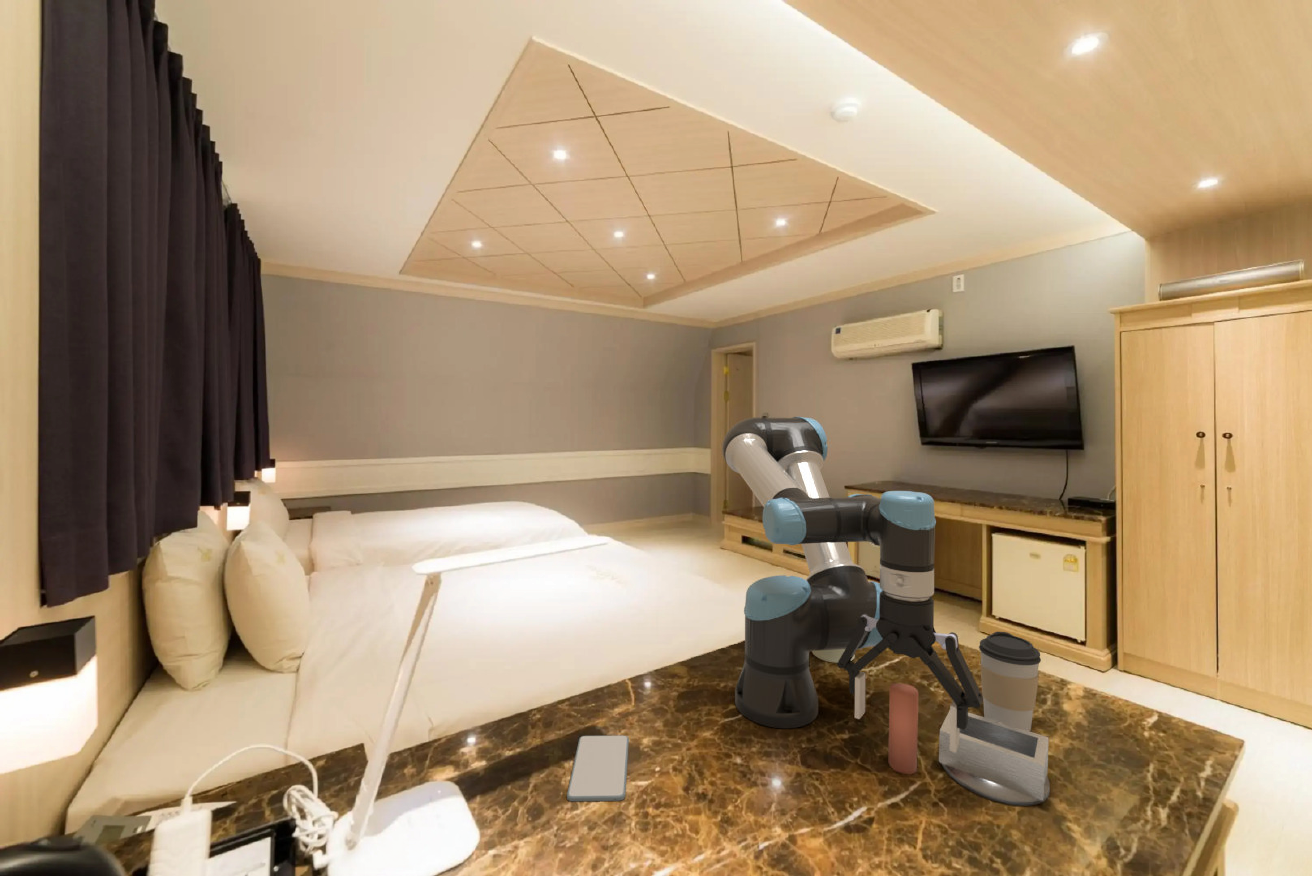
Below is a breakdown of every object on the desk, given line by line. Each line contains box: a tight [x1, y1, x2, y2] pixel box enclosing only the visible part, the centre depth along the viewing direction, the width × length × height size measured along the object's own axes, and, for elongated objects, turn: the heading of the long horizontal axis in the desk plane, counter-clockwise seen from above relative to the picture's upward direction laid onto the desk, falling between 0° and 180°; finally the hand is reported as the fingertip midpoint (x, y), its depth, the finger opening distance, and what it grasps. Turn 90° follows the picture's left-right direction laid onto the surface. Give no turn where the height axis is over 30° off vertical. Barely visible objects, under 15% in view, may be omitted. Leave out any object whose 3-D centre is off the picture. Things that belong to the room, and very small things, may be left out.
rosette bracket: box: [938, 710, 1051, 807], centre depth 81 cm, size 14×14×6 cm
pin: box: [887, 682, 919, 775], centre depth 82 cm, size 4×4×12 cm
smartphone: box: [566, 734, 630, 802], centre depth 83 cm, size 8×1×15 cm
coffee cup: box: [978, 631, 1042, 732], centre depth 94 cm, size 9×9×15 cm
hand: (904, 730), depth 82 cm, fingers open, 13 cm apart
